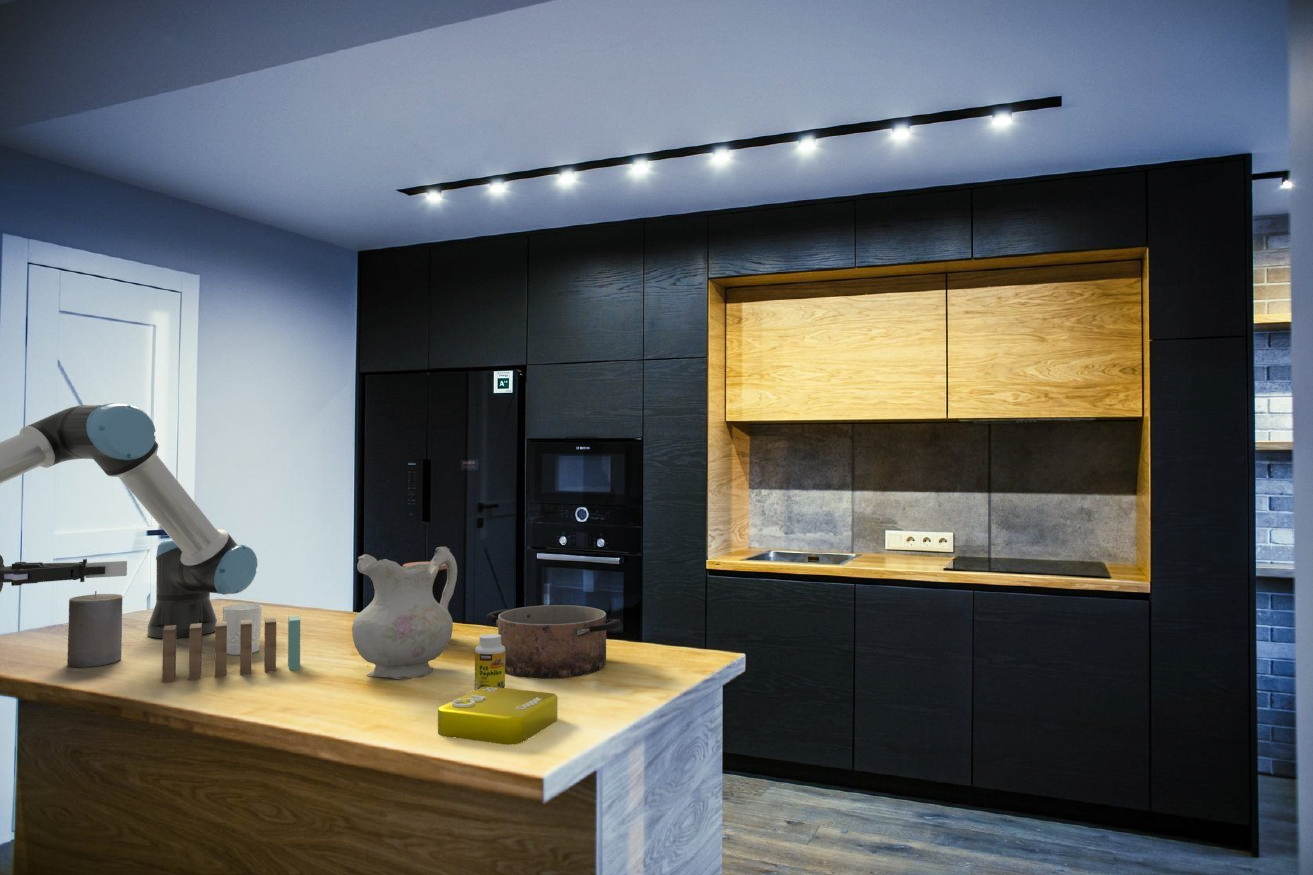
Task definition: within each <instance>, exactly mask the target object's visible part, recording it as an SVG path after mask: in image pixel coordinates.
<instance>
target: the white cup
mask: <svg viewBox="0 0 1313 875" xmlns="http://www.w3.org/2000/svg"><path fill="white" fill-rule="evenodd" d="M262 612H263V605H262V604H259V603H239V604H231V605H227V606H224V607H222V616H223V617H222V618H223V619H222V620H223V621H222V622H224V621H227V655H228V656H229V655H231V656H240V632H241V620H252V654H254V653H257V652H258V651H260V638H261V629H262V628H261V627H262V614H263V613H262Z"/></svg>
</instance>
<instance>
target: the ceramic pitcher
mask: <svg viewBox="0 0 1313 875" xmlns="http://www.w3.org/2000/svg"><path fill="white" fill-rule="evenodd" d="M434 550H435V551H434V556H433V557H432V559H431V560H430V561H429V562H430V563H429V564H415V565H412V566H407V567H405V568H404V567H403V565H402V566H401V565H400V564H399V563H398V562H396V561H393V560H389V559H387V558H384V559H379V560H377V558H375V557H374V556H372V555H370V554H365V553H364V554H362V555H360V556H358V557H357V559H358V562H357V571H358V572H359V573H360V574H363V575H366V576H368V577H369V578H370V579H371V581H372V584H373V589H374V597H373V599H372V601H371V602H370V603H369V604H368V605H367V606H365V607H364V608H363V610H362V611H360V612H359V613H357V614H356V615H355V617H354V619H353V622H352V626H351V633H352V635H351V636H352V640H353V643H354V647H355V649H356V651H357V652H358V654H359V656H360V657H361V658H362V659H364V661H366V662H368V663H371V664H374V665H375V666H374V669H373V671H371V672H369V673H367V674H366V676H367V677H379V678H383V677H384V678H389V679H395V680H404V679H405V680H406V679H411V678H423V677H424V676H426V675H428V674H431V672H433V670H434V668H433V667H431V665H430V664H429V662H431V661H433V660H434V661H435V659H437V658H438V657H439V656H440V655H442V653H443V652H444V651H445V650H446V648H447V647H448V645H449V643H450V641H451V638H452V635H453V628H454V627H453V626H454V625H453V618H452V614H451V613H450V611H449V612H448V603H449V604H450V600H451V599H452V597H453V595H454V590H455V587H456V583H457V578H458V577H457V576H458V565H457V561H456V559H455V556H454V555H453V553H452V552H451V548H448V547H447V545H445V546H444V545H442V546H439V547H436V548H435V549H434ZM443 564H445V565H446V567H447V583H446V585H445V588H444V590H443V594H442V598H441V602H440V604H439V603H437V601H436V600H435V599H434V597H433V593H432V587H433V583H434V579H435V577H436V575H437V573H438V569H439V567H440V566H441V565H443Z"/></svg>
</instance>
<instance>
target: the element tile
mask: <svg viewBox="0 0 1313 875" xmlns="http://www.w3.org/2000/svg"><path fill="white" fill-rule="evenodd" d="M558 700H559V699H558V695H557V694H556V693H553V692H544V691H537V690H536V691H535V690H525V689H515V688H508V687H506V688H499V687H489V686H486V687H482V688H479V689H477V690H475V689H474V690H473V691H471V692H469V693H466V694H464V695H462V696H460V697H457V698H456V699H454V700H452V701H451V700H450V702H447V703H445V704H443V705H441V706H439V707H438V708H437V734H438V735H439V736H441V737H445V736H446V737H447V738H453V737H456V738H455V739H460V738H461V739H462V740H469V741H470V740H471V741H477V742H484V743H490V742H491V744H498V743H499V744H500V745H506V746H507V745H512V744H513V745H518V743H519V744H521V742H522V743H524V742H525V741H527V740H529V739H531V738H532V737H534V736H535V735H537V734H538V733H540V732H541V730H542V731H543V730H545V729H546V728H548V727H550V726H552V725H553V724H555V723H556V722H557V721H558V706H559V705H558V703H559V702H558ZM528 738H529V739H528ZM523 741H524V742H523Z"/></svg>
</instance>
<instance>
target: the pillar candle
mask: <svg viewBox="0 0 1313 875" xmlns="http://www.w3.org/2000/svg"><path fill="white" fill-rule="evenodd" d="M123 597H124V596H123V594H117V593H97V590H94V594H85V595H78V596H74V597H70V598H69V600H68V634H67V666H69V667H74V668H85V667H86V668H87V667H99V666H104V665H109V664H110V665H111V664H114V663H117V662H118V661H120V660H121V659H122V645H123V644H122V641H123V640H122V639H123V636H122V635H123Z"/></svg>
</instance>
